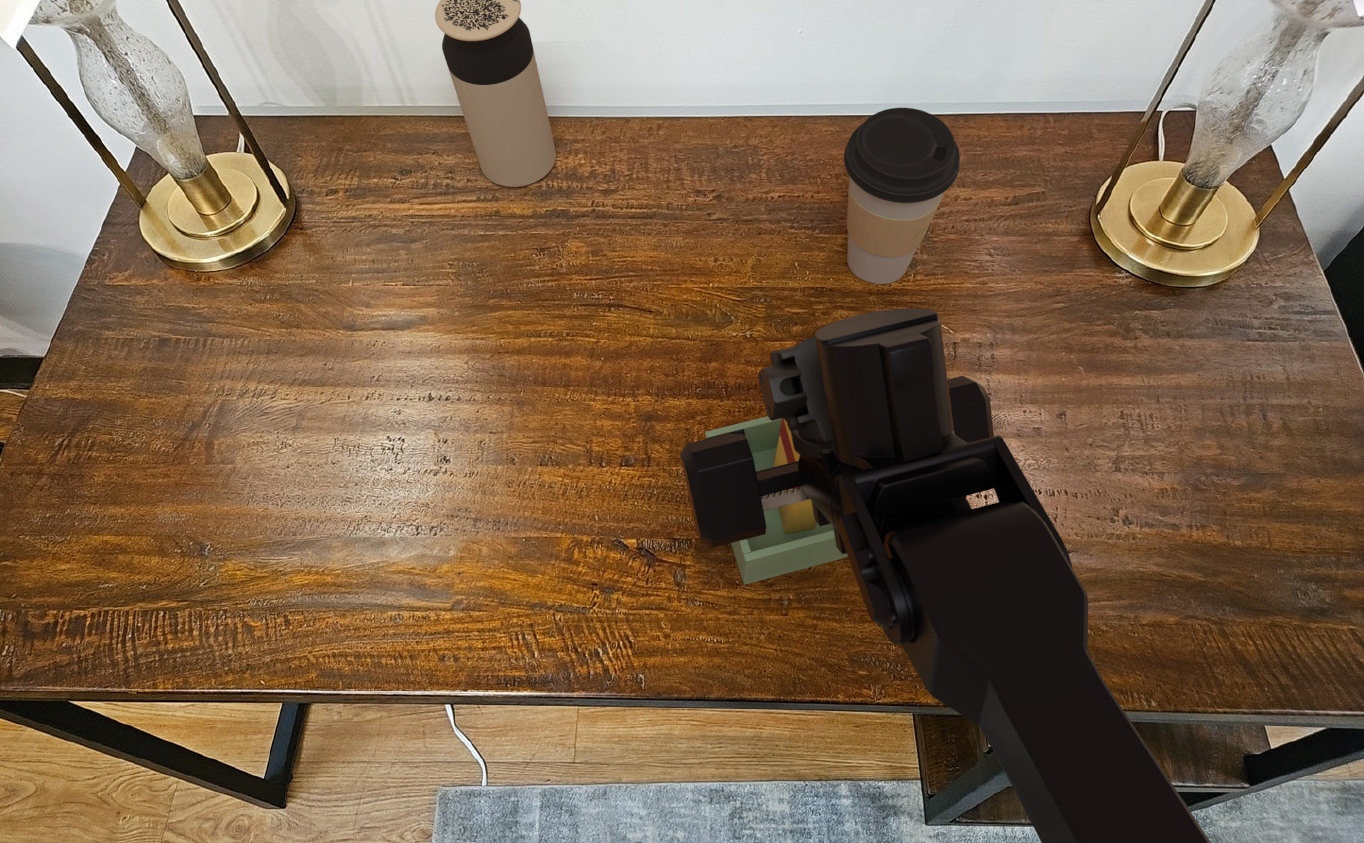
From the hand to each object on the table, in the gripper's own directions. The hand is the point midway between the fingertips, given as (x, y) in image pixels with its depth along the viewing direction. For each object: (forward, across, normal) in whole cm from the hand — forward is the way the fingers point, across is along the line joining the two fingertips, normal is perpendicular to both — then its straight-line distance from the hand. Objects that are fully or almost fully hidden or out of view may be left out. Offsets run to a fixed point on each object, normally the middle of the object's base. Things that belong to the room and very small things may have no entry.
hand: (801, 424), depth 62 cm
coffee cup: (+25, -16, -6) cm, 30 cm away
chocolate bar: (+8, 0, +9) cm, 13 cm away
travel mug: (+41, +15, -22) cm, 49 cm away
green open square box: (+9, 0, +10) cm, 13 cm away
